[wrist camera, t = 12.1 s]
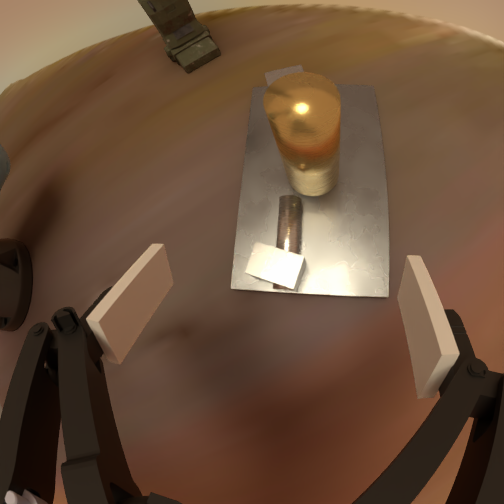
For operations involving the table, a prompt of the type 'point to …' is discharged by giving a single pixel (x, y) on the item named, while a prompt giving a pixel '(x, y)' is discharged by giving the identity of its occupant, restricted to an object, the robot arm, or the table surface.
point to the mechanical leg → (181, 32)
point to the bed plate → (315, 210)
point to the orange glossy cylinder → (306, 129)
